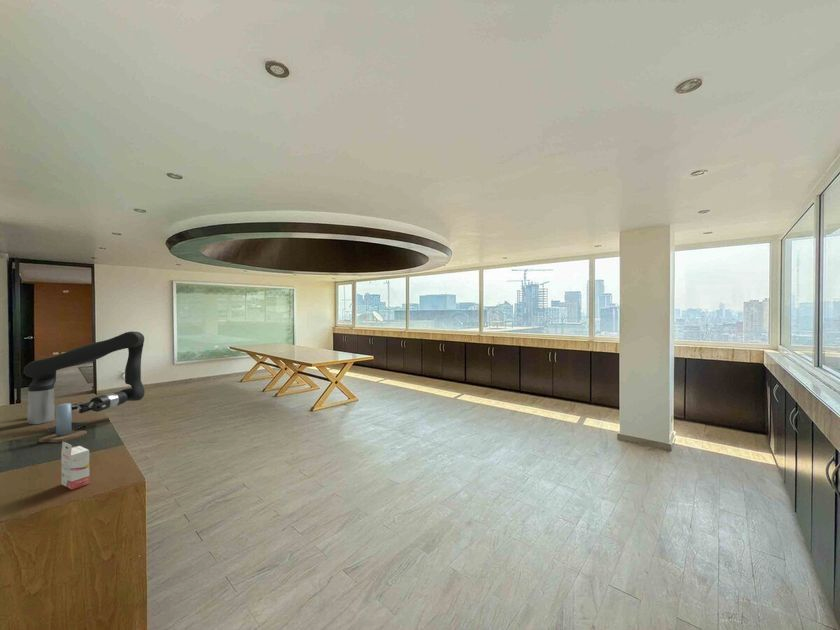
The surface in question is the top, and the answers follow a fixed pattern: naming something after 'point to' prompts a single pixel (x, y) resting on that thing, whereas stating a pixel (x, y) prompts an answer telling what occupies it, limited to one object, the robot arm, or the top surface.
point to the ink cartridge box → (74, 466)
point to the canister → (63, 419)
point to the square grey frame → (74, 426)
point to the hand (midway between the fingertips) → (71, 411)
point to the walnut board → (62, 437)
